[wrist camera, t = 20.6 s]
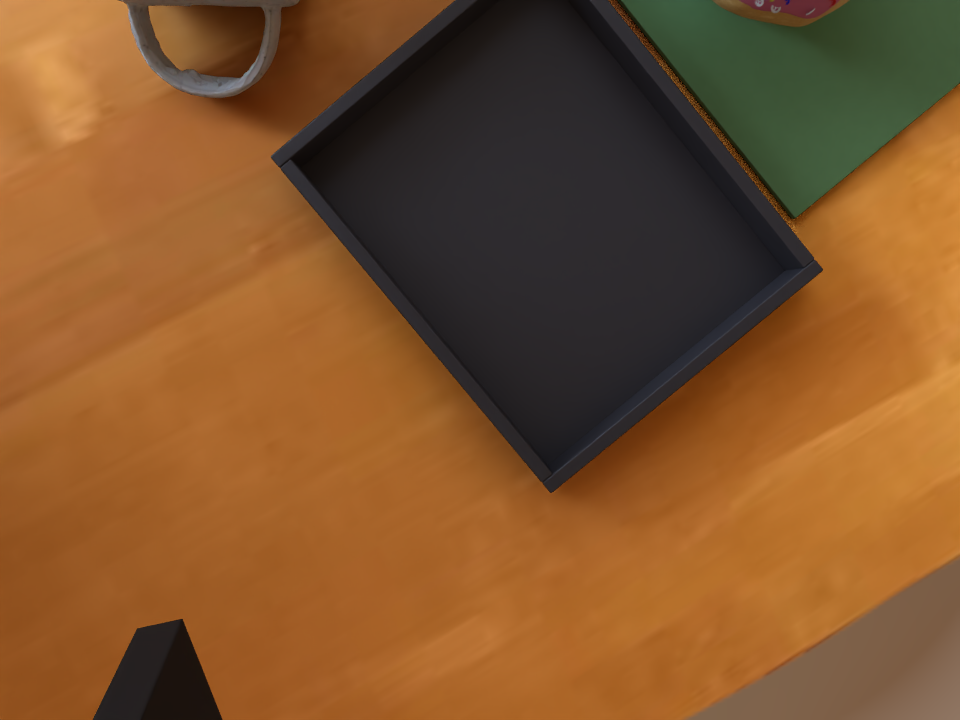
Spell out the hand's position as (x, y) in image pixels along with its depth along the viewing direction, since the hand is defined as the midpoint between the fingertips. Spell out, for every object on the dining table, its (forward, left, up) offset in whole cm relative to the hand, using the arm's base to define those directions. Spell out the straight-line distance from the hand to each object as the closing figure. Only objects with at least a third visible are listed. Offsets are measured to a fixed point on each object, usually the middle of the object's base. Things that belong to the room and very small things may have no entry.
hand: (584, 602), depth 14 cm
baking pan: (-6, +7, -24) cm, 25 cm away
